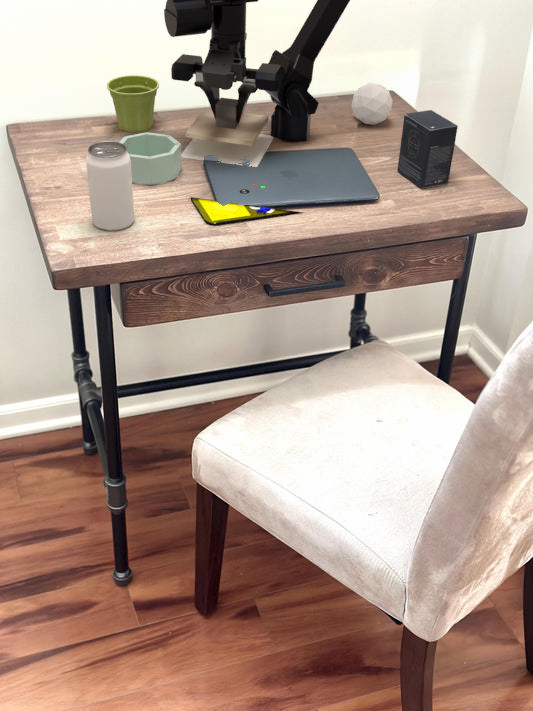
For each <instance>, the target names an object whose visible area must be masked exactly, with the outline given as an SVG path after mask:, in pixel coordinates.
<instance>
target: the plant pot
mask: <svg viewBox="0 0 533 711" xmlns="http://www.w3.org/2000/svg"><path fill="white" fill-rule="evenodd" d="M159 88H160V83H159V81H158V80H157V79H156V78H154V77H151V76H146V75H135V74H133V75H123V76H119V77H118V76H117V77H116V78H112V79H111V80H109V81H108V82H107V83H106V89H107V90H108V91H109V93H110V97H111V98H112V101H113V102H112V103H113V106H114V110H115V116H116V120H117V124H118V129H119V130H120V131H121V130H122V131H124V132H129V133H143V132H147V131H148V130H150V129H152V128H153V126H154V125H153V124H154V113H155V112H154V111H155V103H156V102H155V101H156V96H157V91H158V89H159Z"/></svg>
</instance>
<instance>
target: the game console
mask: <svg viewBox="0 0 533 711" xmlns="http://www.w3.org/2000/svg"><path fill="white" fill-rule="evenodd" d="M257 186H258V185H257V184H253V187H257ZM260 188H261V189H265V188H266V186H264V185H261V186H260ZM249 193H250V190H249V189H245V188H243V189H240V190H239V194H243V195H246V194H249ZM217 201H218V200H215V199H208V198H202V197H201V198H200V197H193V196H190V202H191V203H192V205H193V207H194V208H195V209H196V211H197V213H198V214H199V216H200V217H201V218H202V220H203V222H204V223H205V225H208V226H212V227H217V226H218V227H219V226H225V225H226V226H227V225H231V224H238V223H239V224H240V223H246V222H253V221H260V220H267V219H273V218H280V217H285V216H292V215H299V214H300V215H301V214H304V212H302V211H294V210H288V209H281V208H273V207H265V206H259V205H251V204H245V205H239V204H240V203H238V202H230V203H231V204H227V205H225V206H222V205H221V204H219V203H218V202H217Z"/></svg>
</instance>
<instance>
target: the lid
mask: <svg viewBox="0 0 533 711" xmlns="http://www.w3.org/2000/svg"><path fill="white" fill-rule="evenodd" d="M237 106H238V99H237V98H228V97H220V100H219V101H218V102H217V103H216V120H215V117H214V114H213V112H212V109H211V108H205V107H204V109H203V110H202V111H201V112H200V114H199V115H198V116H197V117H196V119H195V120H194V121H193V122H192V123H191V125H190V126H189V127H188V128H187V130H186V131H185V136H184V137H185V138H188V139H193V138H195V139H202V140H210V141H218V142H226V143H234V144H242V145H250V146H253V144H254V143H255V141H256V139H257V138H258V136H259V135H260V134H262V131H263V129H264V128H265V127H266V125H267V123H268V121H269V115H265V114H257V113H249V112H248V113H247V112H243V115H242V117H241V120H240V122H239V123H237V116H236V115H237Z"/></svg>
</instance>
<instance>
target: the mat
mask: <svg viewBox="0 0 533 711" xmlns="http://www.w3.org/2000/svg"><path fill="white" fill-rule="evenodd" d="M274 139H275V138H274V137H272V136H271V134H270V135H269V134H263V133H260V135H259V136H258V138H257V139H256V141H255V143H254V144H253V146H250V145H242V144H234V143H226V142H218V141H210V140H202V139H195V138H191V140H190V142H189V143H188V145H187V146H186V147H185V149H184V150H183V151H182V152H181V159H189V160H190V159H191V160H197V161H204V156H207V155H215V156H214V157H216V156H218V158H219V160H218V161H221V160H222V161H221V163H222V164H230V165H235V164H236V165H237V166H243V165H242V164H238V163H242V162H245V161H243V160H240V159H243V157H245V156H248V157H247V158H245V159H247V160H249V161H250V162H249V163H250V165H249V166H248V167H251V166H252V167H253V168H258V166H259V164H260V163H261V161H262V159H263V158H264V156H265V154H266V153H267V151H268V148H269V147H270V145H271V143H272V142H273V140H274ZM218 158H217V159H218ZM247 160H246V161H247ZM221 163H220V164H221ZM249 163H247V164H249Z"/></svg>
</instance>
